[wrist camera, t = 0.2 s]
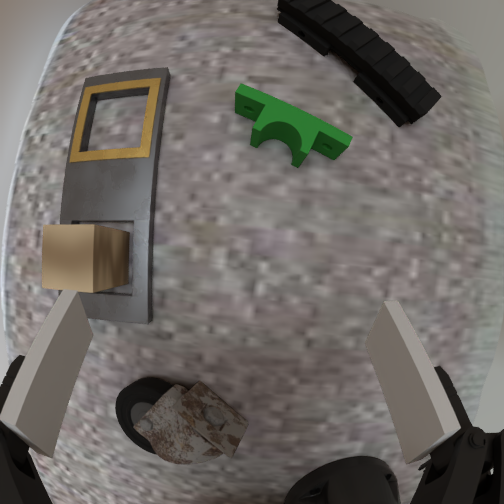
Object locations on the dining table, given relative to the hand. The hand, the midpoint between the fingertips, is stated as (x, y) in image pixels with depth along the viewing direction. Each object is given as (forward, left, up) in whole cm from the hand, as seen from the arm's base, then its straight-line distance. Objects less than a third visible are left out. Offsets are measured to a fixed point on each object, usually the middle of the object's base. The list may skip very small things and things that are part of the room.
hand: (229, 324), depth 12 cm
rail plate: (+9, +13, -16) cm, 23 cm away
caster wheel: (-14, +6, -17) cm, 22 cm away
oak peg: (+2, +13, -16) cm, 21 cm away
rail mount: (+27, -13, -17) cm, 34 cm away
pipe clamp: (+14, -4, -17) cm, 22 cm away
